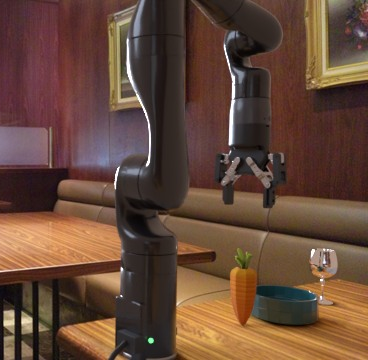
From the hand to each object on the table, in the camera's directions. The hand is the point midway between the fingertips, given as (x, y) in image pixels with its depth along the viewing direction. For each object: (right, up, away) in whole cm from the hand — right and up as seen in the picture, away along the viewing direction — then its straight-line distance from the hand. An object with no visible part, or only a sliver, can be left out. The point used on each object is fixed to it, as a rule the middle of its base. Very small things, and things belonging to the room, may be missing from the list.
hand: (247, 206), depth 96 cm
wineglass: (+24, -23, +17) cm, 37 cm away
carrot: (-1, -24, 0) cm, 24 cm away
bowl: (+10, -23, +6) cm, 26 cm away
